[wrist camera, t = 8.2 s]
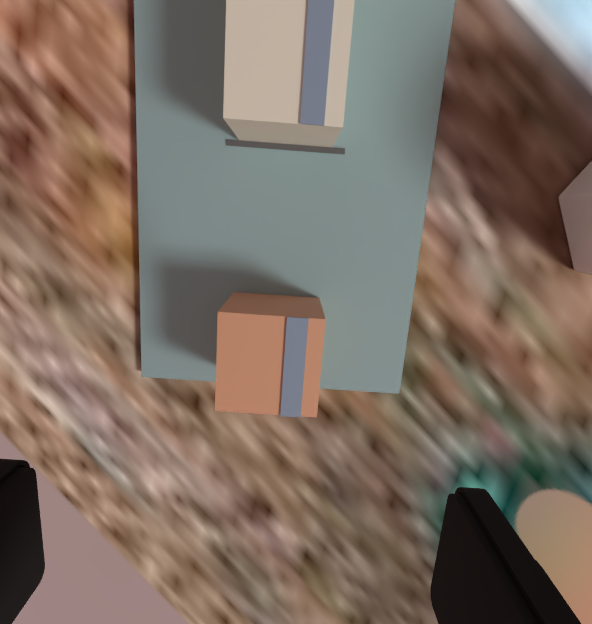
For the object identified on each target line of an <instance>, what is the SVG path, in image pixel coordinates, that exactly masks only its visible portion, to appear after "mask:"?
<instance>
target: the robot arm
mask: <svg viewBox="0 0 592 624" xmlns="http://www.w3.org/2000/svg"><path fill="white" fill-rule="evenodd" d="M44 569H45V561H44V551H43V541H42V531H41V520H40V510H39V500H38V489H37V479H36V472H35V470H34V469H33V468H30V466H29V464H28V462H27V461H24V460H10V459H0V624H12V622H13V621H14V620H15V618H16V617H17V615H18V614H19V612H20V611H21V609H22V608H23V607H24V605H25V604H26V602H27V601H28V599H29V598H30V596H31V595H32V594H33V592H34V591H35V589H36V588H37V586H38V585H39V583H40V581H41V579H42V576H43V573H44ZM431 601H432V606H433V609H434V612H435V615H436V618H437V621H438V623H439V624H581V623H580V621H579V620H578V618H577V617H576V615H575V614H574V613H573V611H572V610H571V608H570V607H569V605H568V604H567V603H566V601H565V600H564V599H563V597H562V595H561V594H560V592H559V591H558V590H557V588H556V587H555V585H554V584H553V582H552V581H551V580H550V578H549V577H548V575H547V574H546V572H545V571H544V570H543V568H542V567H541V566H540V564H539V563H538V562H537V561H536V560H535V559H534V558H533V557H532V555H531V554H530V552H529V551H528V549H527V548H526V546H525V545H524V543H523V542H522V541H521V539H520V538H519V536H518V535H517V533H516V532H515V530H514V529H513V528H512V526H511V525H510V523H509V522H508V520H507V519H506V517H505V516H504V515H503V513H502V512H501V510H500V509H499V507H498V506H497V504H496V503H495V501H494V500H493V499H492V497H491V496H490V494H489V493H488V492H487V491H486V490H485V489H480V488H464V487H459V488H457V490H456V491H455V494H449V496H448V499H447V504H446V509H445V514H444V520H443V525H442V530H441V536H440V541H439V546H438V551H437V557H436V562H435V567H434V572H433V578H432V583H431Z"/></svg>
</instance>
